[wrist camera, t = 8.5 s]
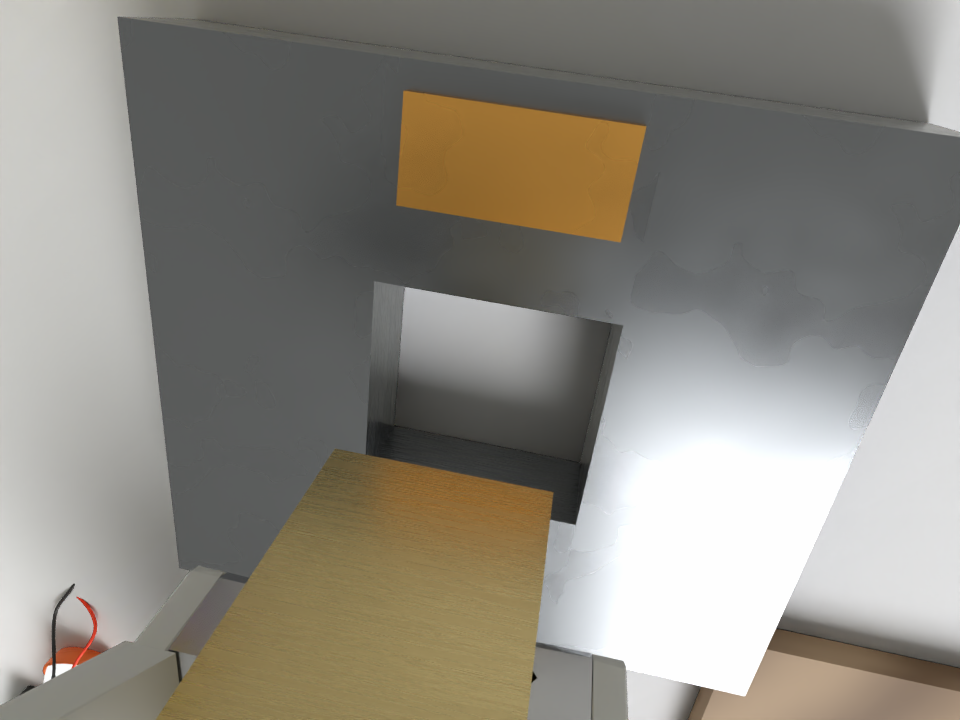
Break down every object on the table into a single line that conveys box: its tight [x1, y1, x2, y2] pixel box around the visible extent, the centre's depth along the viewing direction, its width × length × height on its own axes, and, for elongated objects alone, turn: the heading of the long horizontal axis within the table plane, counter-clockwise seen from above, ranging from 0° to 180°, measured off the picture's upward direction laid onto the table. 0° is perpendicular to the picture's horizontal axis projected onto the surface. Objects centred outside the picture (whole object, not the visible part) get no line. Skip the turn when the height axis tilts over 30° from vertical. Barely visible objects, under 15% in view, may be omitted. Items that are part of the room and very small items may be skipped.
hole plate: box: [118, 17, 960, 696], centre depth 18 cm, size 18×16×3 cm
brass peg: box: [156, 449, 553, 720], centre depth 10 cm, size 4×4×6 cm
